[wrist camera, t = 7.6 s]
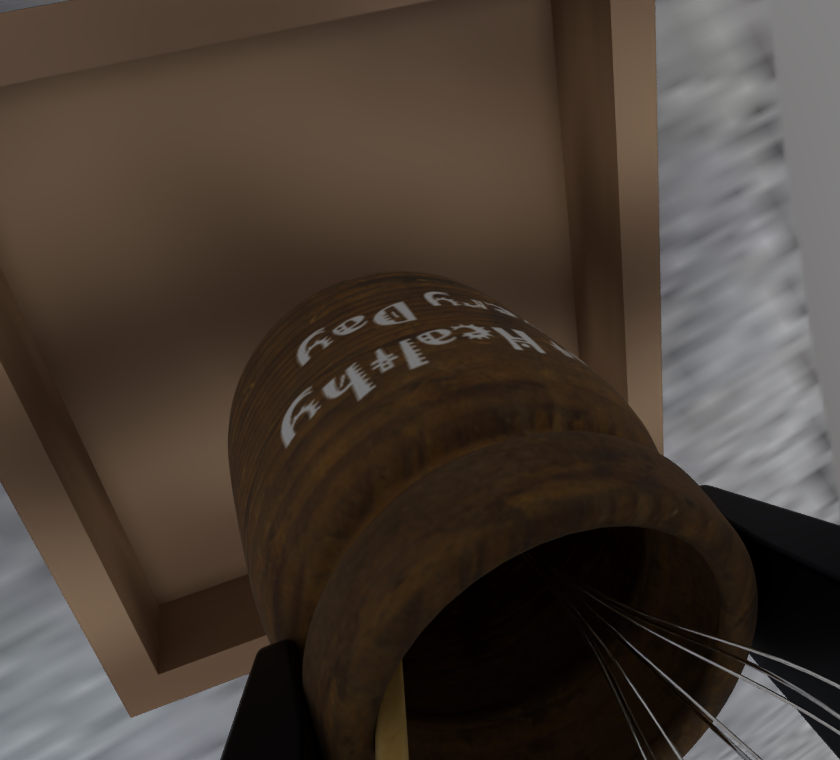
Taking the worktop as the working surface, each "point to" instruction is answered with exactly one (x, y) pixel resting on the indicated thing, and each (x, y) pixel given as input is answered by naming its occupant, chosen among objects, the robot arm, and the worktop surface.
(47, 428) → the tray
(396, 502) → the utensil holder
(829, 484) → the worktop surface
